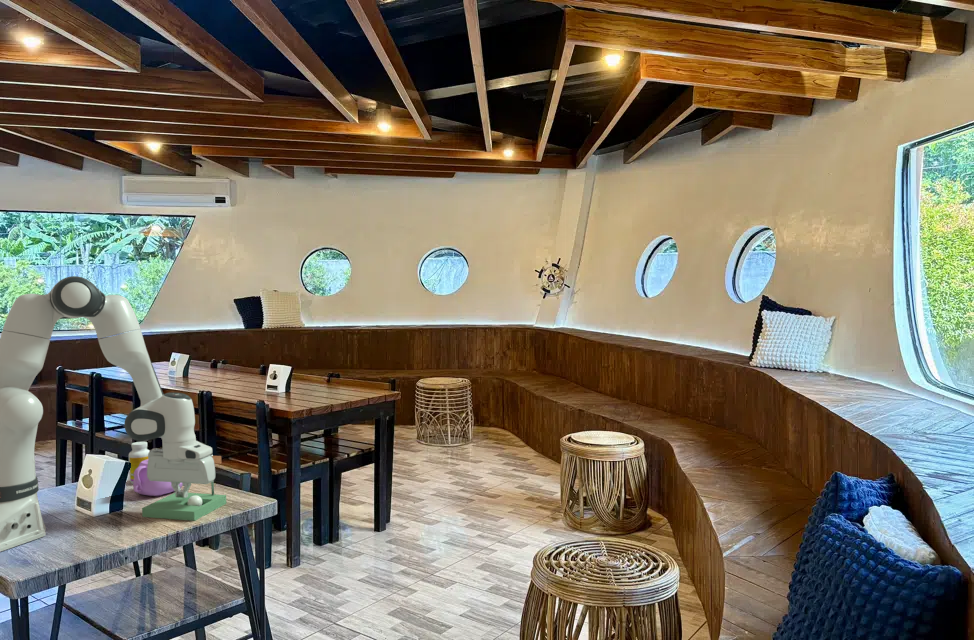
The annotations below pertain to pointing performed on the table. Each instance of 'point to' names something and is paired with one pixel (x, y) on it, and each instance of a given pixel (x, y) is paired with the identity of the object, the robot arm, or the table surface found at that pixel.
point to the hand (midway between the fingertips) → (181, 497)
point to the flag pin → (218, 460)
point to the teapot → (149, 482)
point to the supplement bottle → (137, 456)
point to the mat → (183, 507)
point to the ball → (194, 501)
